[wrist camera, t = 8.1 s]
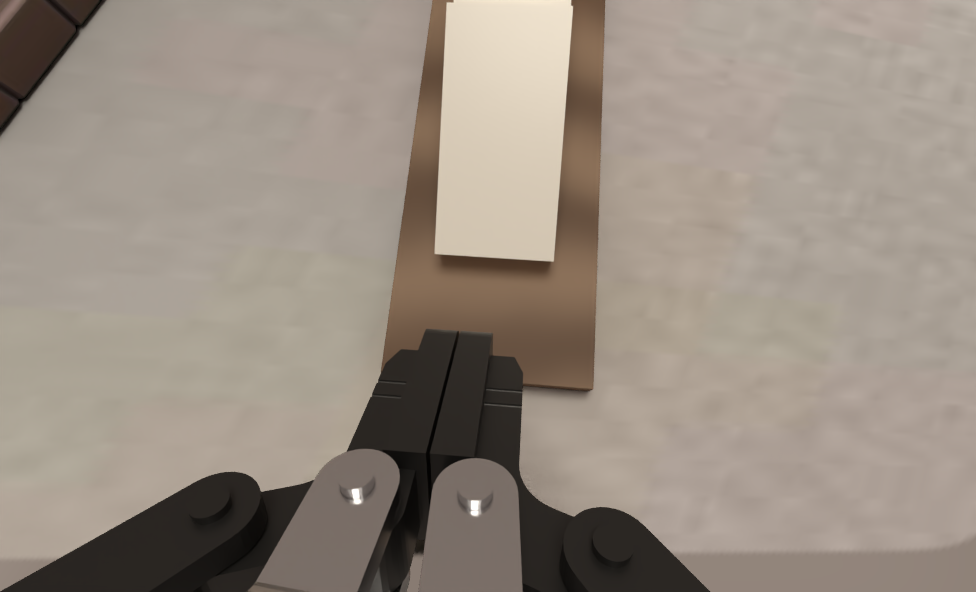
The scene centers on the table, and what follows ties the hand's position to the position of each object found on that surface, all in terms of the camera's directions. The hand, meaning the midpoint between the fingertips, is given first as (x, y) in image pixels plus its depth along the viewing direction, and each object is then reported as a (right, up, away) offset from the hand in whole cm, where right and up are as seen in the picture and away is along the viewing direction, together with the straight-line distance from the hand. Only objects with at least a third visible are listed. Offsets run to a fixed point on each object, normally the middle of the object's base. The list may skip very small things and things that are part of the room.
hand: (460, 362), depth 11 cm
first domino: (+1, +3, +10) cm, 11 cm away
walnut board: (+2, +11, +14) cm, 18 cm away
